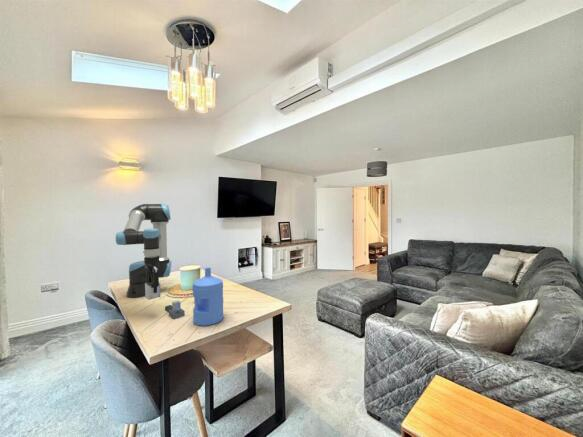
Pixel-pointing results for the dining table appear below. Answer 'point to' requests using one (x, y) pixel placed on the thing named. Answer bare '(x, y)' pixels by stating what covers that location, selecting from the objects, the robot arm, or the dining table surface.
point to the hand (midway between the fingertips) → (152, 296)
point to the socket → (150, 291)
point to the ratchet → (175, 310)
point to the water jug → (208, 300)
